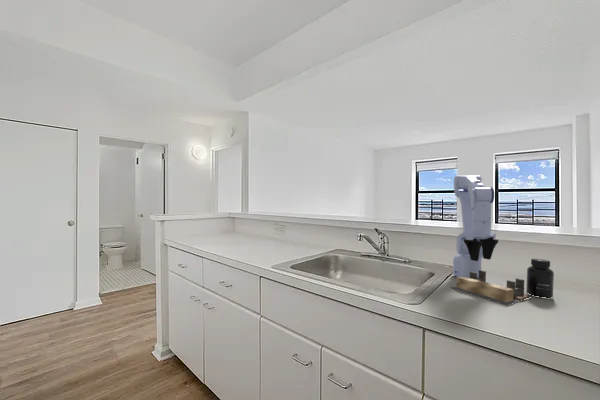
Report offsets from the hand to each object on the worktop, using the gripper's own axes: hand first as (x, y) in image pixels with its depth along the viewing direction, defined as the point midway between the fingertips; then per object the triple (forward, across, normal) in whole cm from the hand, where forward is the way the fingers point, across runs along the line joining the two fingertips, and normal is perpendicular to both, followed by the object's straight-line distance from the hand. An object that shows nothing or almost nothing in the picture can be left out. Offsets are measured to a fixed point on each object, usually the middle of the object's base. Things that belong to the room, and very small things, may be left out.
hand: (480, 259), depth 100 cm
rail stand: (+10, +2, -4) cm, 11 cm away
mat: (+10, -5, -4) cm, 12 cm away
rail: (+10, -5, -4) cm, 12 cm away
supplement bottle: (+11, +11, -13) cm, 20 cm away
